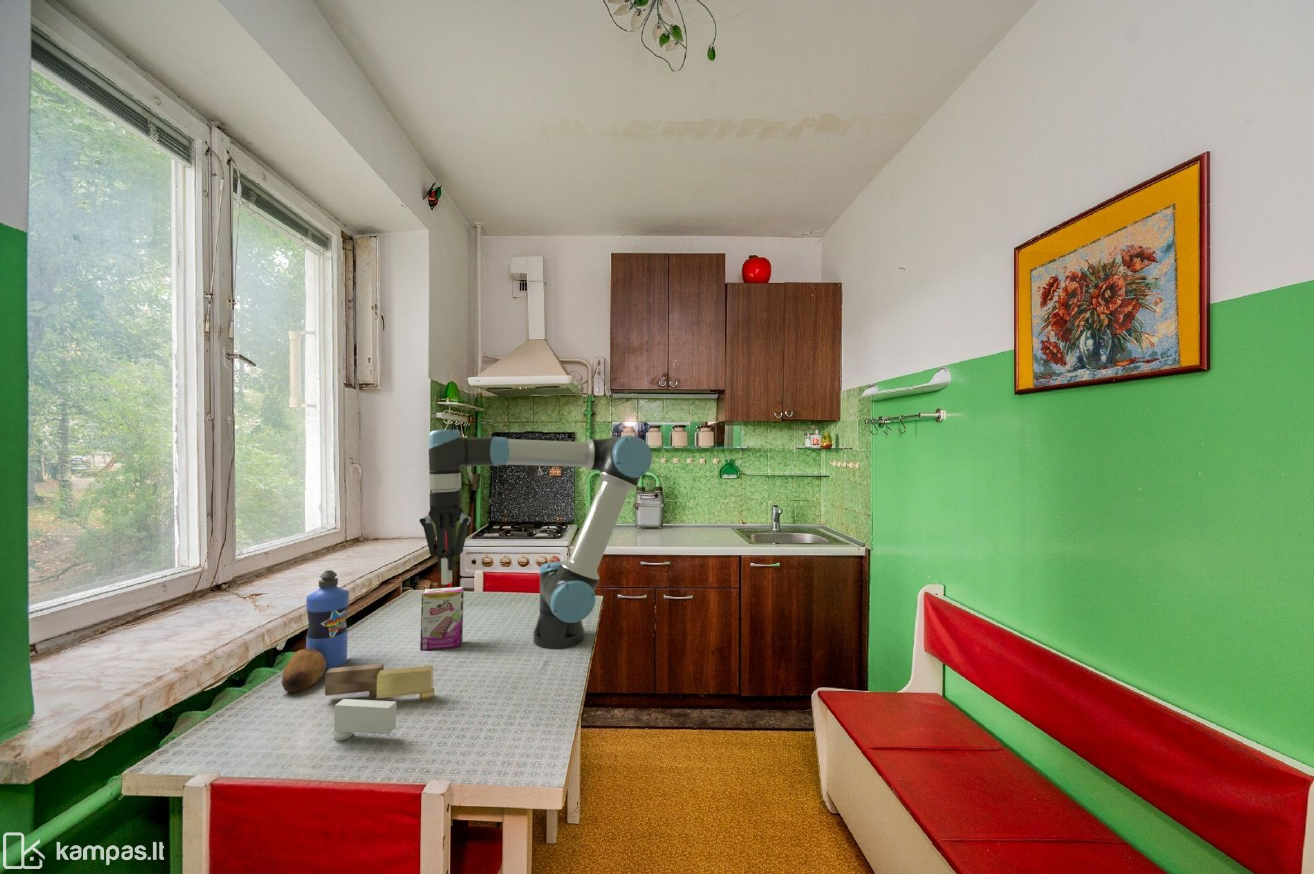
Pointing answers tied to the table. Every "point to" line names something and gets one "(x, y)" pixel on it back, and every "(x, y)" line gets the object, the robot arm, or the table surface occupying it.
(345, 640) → the water bottle
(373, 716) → the light grey boxy piece
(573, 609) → the robot arm
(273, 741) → the table surface
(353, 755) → the table surface
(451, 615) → the candy bar box
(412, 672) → the lever
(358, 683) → the lever
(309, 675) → the potato
